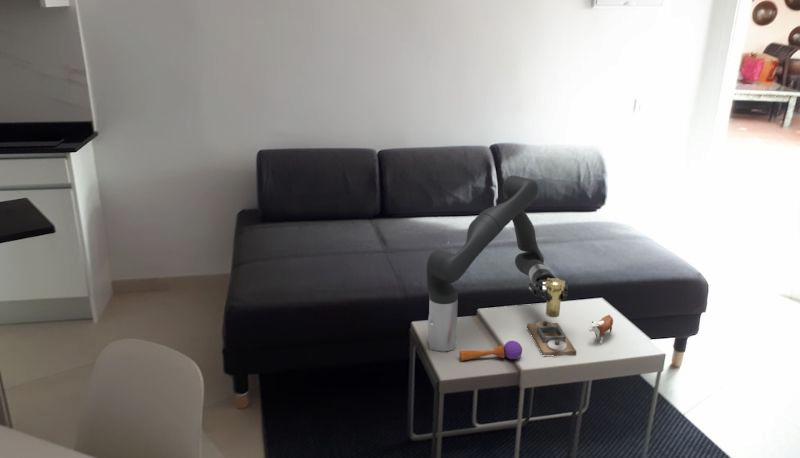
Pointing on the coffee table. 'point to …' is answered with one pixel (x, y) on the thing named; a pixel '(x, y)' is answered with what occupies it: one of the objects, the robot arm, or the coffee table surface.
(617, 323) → the coffee table surface
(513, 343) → the kendama
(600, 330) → the bull figurine
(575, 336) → the coffee table surface
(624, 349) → the coffee table surface
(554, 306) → the brass pinion
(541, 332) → the board
